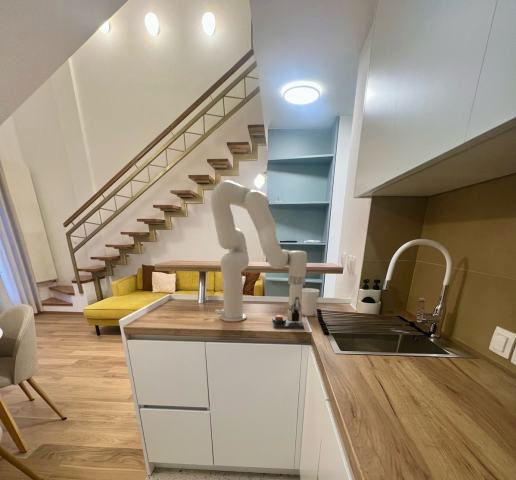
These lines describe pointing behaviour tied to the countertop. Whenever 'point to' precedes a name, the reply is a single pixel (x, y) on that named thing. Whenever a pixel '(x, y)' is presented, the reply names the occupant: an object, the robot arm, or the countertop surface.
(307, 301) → the foam cup
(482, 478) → the countertop surface
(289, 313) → the bowl
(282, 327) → the scale
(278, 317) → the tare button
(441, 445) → the countertop surface
